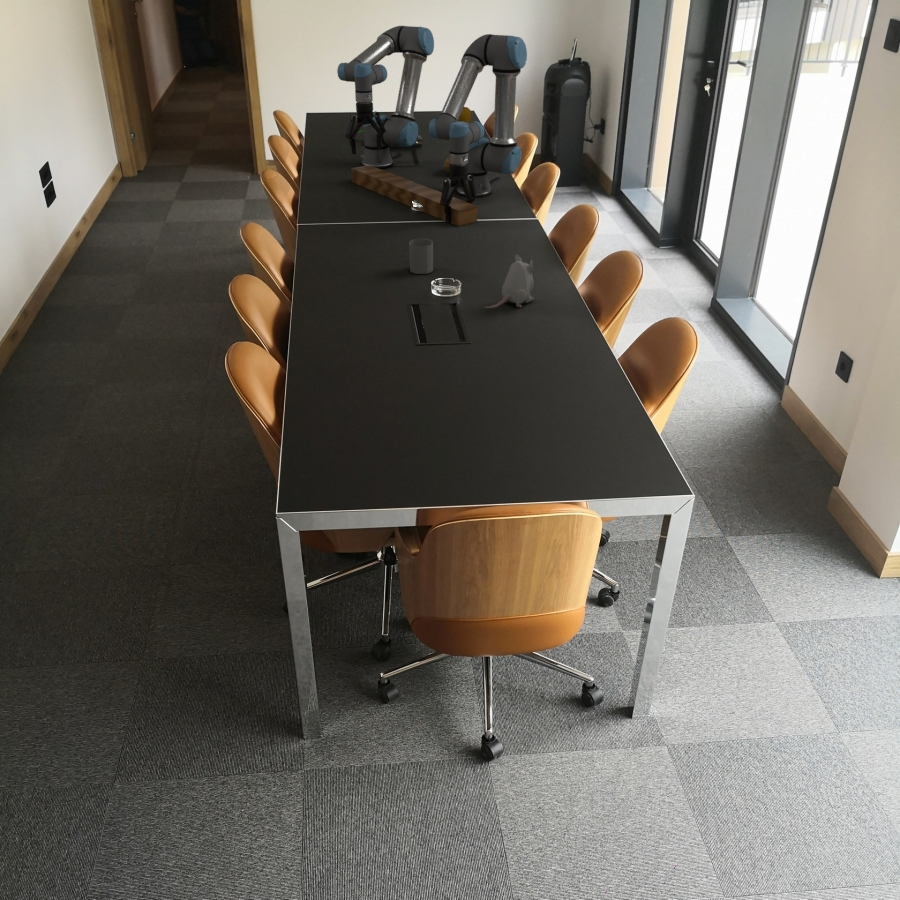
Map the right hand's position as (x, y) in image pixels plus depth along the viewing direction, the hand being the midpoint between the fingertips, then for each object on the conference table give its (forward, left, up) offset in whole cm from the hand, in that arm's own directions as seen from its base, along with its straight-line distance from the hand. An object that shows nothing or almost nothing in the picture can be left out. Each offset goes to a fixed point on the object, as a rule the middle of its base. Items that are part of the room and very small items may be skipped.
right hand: (458, 219), depth 355 cm
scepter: (-123, -62, 0) cm, 138 cm away
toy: (+85, +31, 0) cm, 90 cm away
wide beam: (-23, -25, 0) cm, 34 cm away
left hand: (-45, -50, +14) cm, 69 cm away
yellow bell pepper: (-159, -26, 0) cm, 161 cm away
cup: (+58, -3, 0) cm, 58 cm away
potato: (-69, -14, 0) cm, 70 cm away
